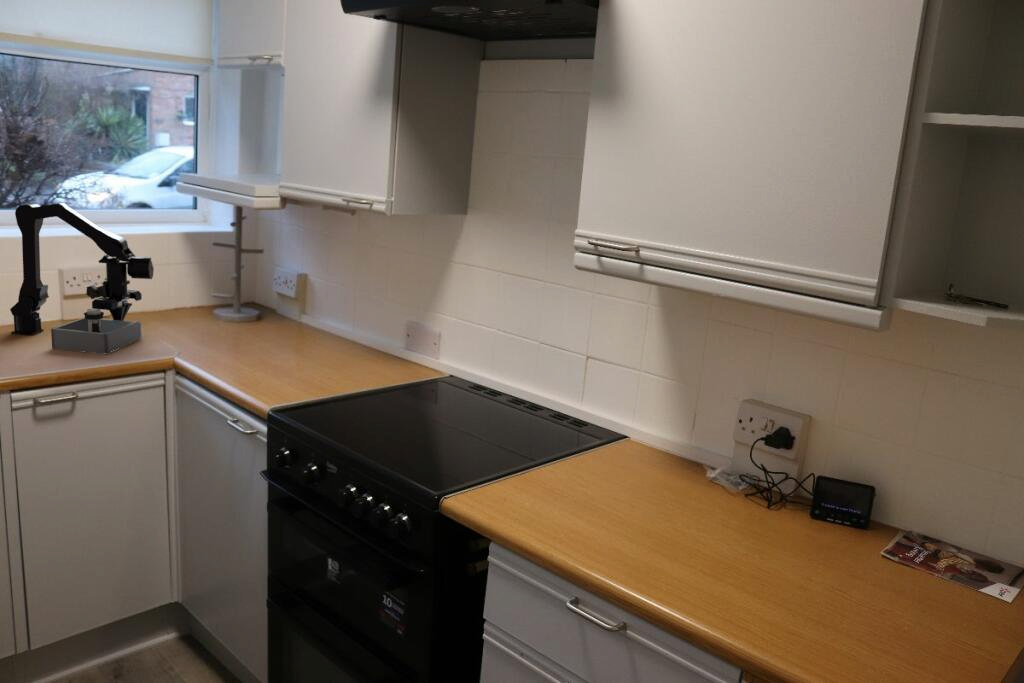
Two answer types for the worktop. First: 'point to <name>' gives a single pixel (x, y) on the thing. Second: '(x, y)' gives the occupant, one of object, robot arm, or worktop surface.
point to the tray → (114, 325)
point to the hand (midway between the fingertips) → (118, 326)
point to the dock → (92, 337)
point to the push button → (94, 319)
